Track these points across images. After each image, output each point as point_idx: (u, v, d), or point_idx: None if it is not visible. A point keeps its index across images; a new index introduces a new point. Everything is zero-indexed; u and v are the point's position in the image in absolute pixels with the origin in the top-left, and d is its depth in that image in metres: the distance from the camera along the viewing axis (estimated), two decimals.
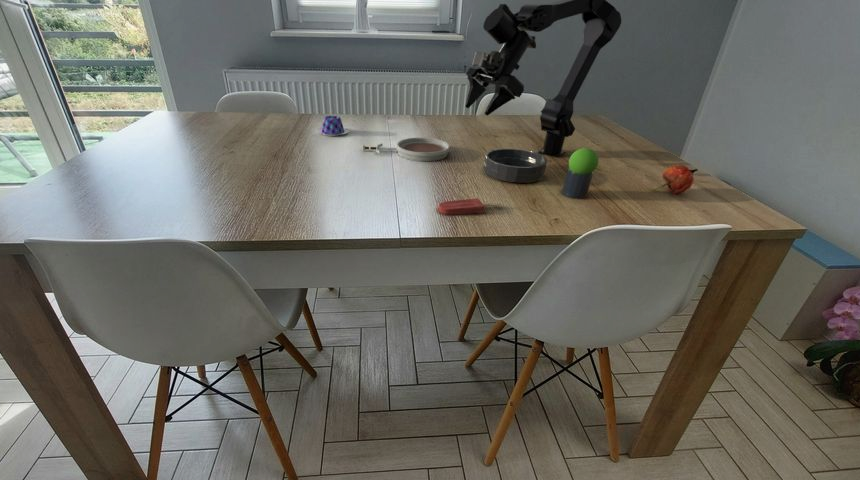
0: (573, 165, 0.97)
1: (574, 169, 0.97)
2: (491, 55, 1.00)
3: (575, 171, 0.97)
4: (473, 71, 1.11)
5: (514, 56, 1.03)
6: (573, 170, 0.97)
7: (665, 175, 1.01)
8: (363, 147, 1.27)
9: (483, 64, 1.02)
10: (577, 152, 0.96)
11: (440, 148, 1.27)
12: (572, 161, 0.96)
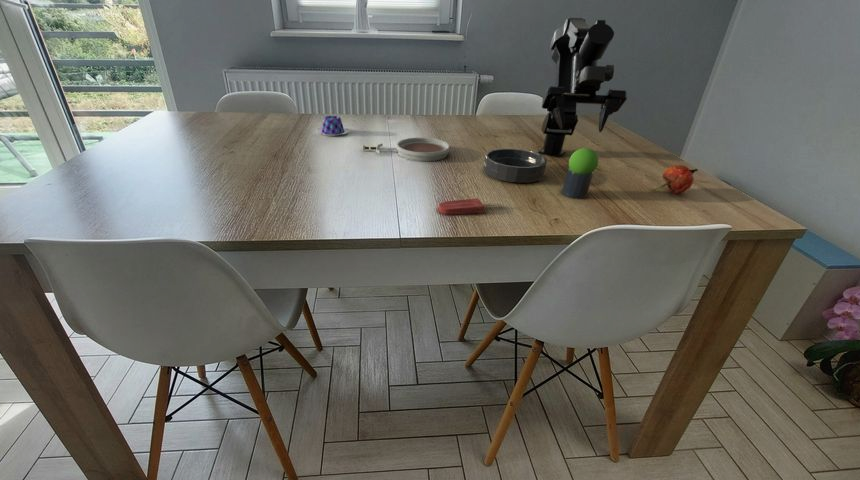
0: (573, 165, 0.97)
1: (574, 169, 0.97)
2: (610, 69, 0.95)
3: (575, 171, 0.97)
4: (561, 90, 1.00)
5: None
6: (573, 170, 0.97)
7: (665, 175, 1.01)
8: (363, 147, 1.27)
9: (604, 78, 0.95)
10: (577, 152, 0.96)
11: (440, 148, 1.27)
12: (572, 161, 0.96)
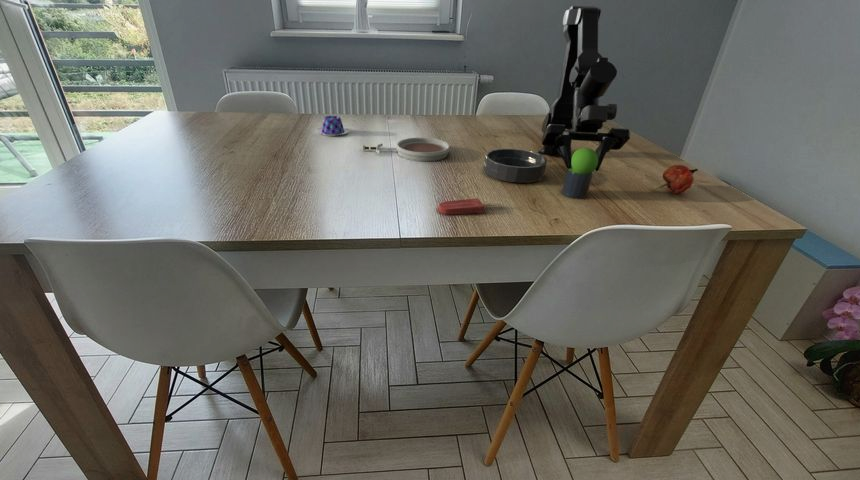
0: (573, 165, 0.97)
1: (574, 169, 0.97)
2: (613, 108, 0.91)
3: (575, 171, 0.97)
4: (562, 128, 0.96)
5: None
6: (573, 170, 0.97)
7: (665, 175, 1.01)
8: (363, 147, 1.27)
9: (607, 118, 0.91)
10: (577, 152, 0.96)
11: (440, 148, 1.27)
12: (572, 161, 0.96)
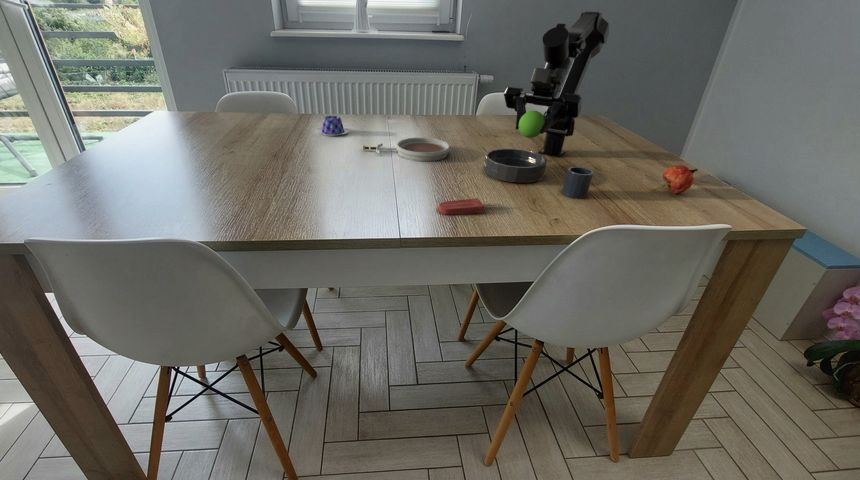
0: (519, 126, 1.03)
1: (519, 129, 1.03)
2: (559, 72, 0.96)
3: (520, 131, 1.04)
4: (516, 90, 1.04)
5: None
6: None
7: (665, 175, 1.01)
8: (363, 147, 1.27)
9: (550, 81, 0.96)
10: (525, 113, 1.02)
11: (440, 148, 1.27)
12: (519, 121, 1.03)
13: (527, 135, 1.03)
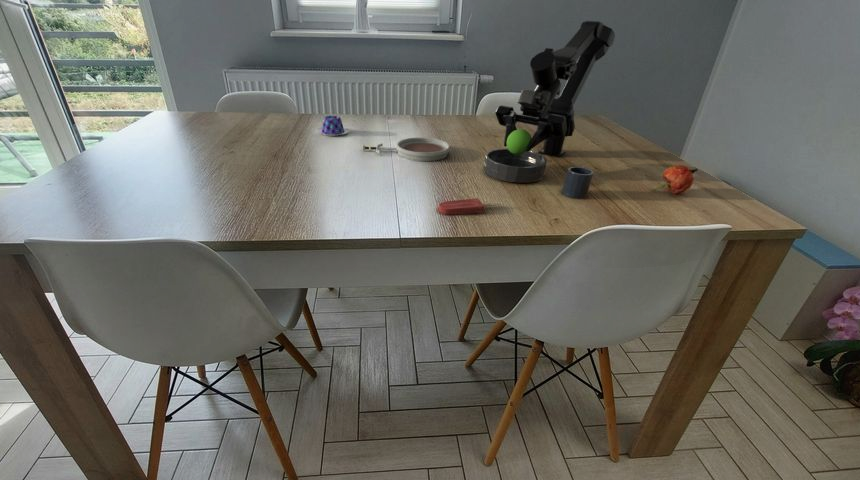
0: None
1: (507, 146, 1.09)
2: (544, 94, 1.01)
3: (508, 148, 1.09)
4: (506, 109, 1.09)
5: (551, 99, 1.07)
6: (507, 147, 1.10)
7: (665, 175, 1.01)
8: (363, 147, 1.27)
9: (535, 102, 1.02)
10: None
11: (440, 148, 1.27)
12: (507, 139, 1.09)
13: (513, 152, 1.08)
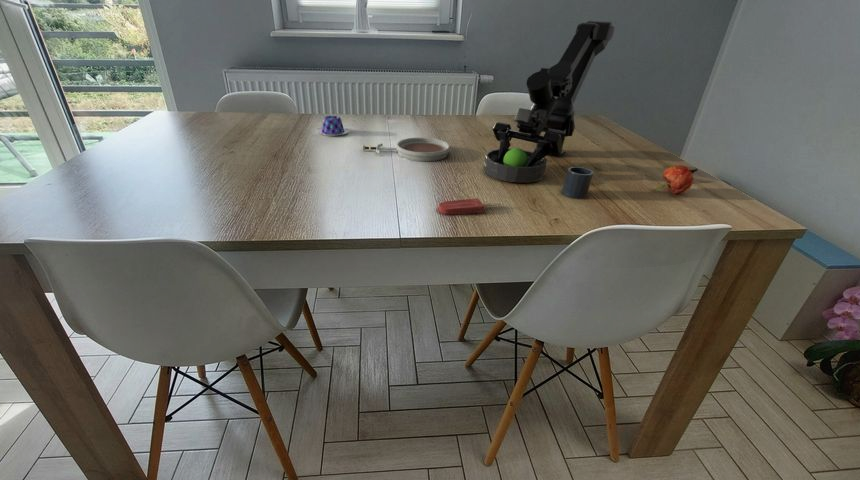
0: (503, 161, 1.12)
1: None
2: (540, 113, 1.03)
3: None
4: (503, 126, 1.12)
5: (547, 116, 1.09)
6: None
7: (665, 175, 1.01)
8: (363, 147, 1.27)
9: (531, 121, 1.04)
10: (509, 150, 1.11)
11: (440, 148, 1.27)
12: None
13: None
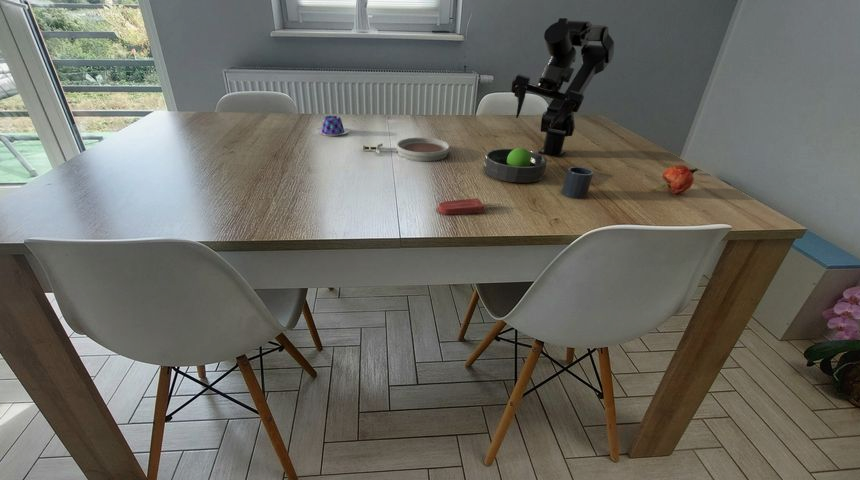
0: (507, 157, 1.12)
1: (507, 160, 1.11)
2: (569, 72, 1.01)
3: (507, 162, 1.12)
4: (525, 80, 1.08)
5: None
6: (507, 162, 1.12)
7: (665, 175, 1.01)
8: (363, 147, 1.27)
9: (560, 80, 1.02)
10: (516, 148, 1.11)
11: (440, 148, 1.27)
12: (509, 154, 1.12)
13: None
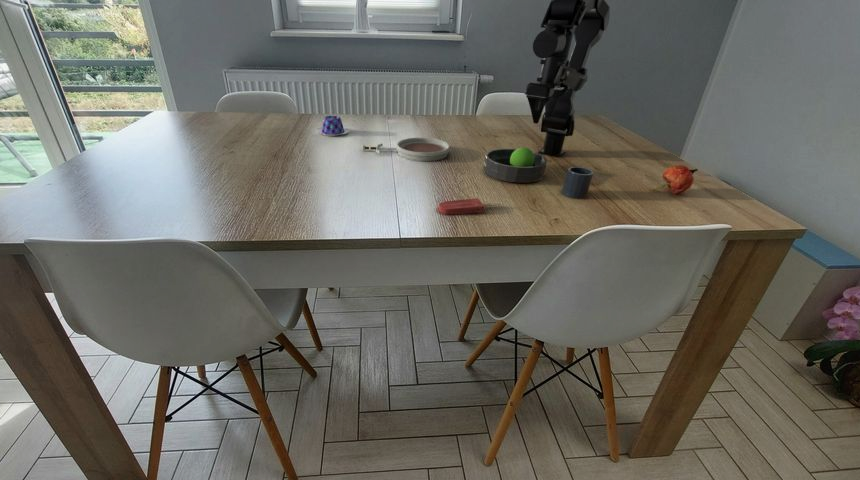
0: (512, 154, 1.11)
1: (511, 156, 1.11)
2: (585, 75, 1.03)
3: (511, 159, 1.11)
4: (553, 91, 1.01)
5: None
6: (510, 158, 1.12)
7: (665, 175, 1.01)
8: (363, 147, 1.27)
9: None
10: None
11: (440, 148, 1.27)
12: (514, 151, 1.12)
13: (515, 164, 1.11)
